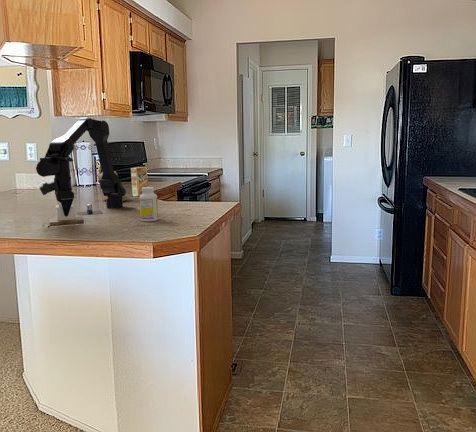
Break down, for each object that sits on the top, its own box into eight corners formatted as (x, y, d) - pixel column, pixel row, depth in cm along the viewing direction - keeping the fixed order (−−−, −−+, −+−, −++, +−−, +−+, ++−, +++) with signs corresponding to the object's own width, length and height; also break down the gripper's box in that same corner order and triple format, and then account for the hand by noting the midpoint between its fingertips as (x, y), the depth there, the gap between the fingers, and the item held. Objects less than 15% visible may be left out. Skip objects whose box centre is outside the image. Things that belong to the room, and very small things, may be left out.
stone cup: (97, 200, 246) (95, 171, 243) (119, 198, 252) (118, 170, 249) (105, 204, 233) (103, 173, 230) (129, 201, 239) (127, 171, 236)
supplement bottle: (150, 218, 190) (149, 186, 188) (161, 219, 186) (160, 187, 184) (137, 220, 185) (135, 187, 183) (148, 222, 181) (146, 188, 179)
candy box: (138, 196, 258) (136, 168, 256) (132, 196, 261) (130, 168, 258) (148, 194, 266) (147, 166, 263) (142, 194, 268) (141, 166, 265)
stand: (100, 212, 207) (100, 202, 206) (103, 216, 198) (103, 205, 197) (76, 214, 203) (75, 204, 202) (78, 218, 194) (77, 207, 193)
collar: (74, 216, 189) (73, 204, 188) (75, 219, 183) (74, 206, 182) (56, 218, 186) (55, 205, 185) (57, 220, 180) (56, 207, 180)
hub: (81, 218, 192) (80, 206, 192) (83, 223, 181) (82, 210, 181) (49, 221, 188) (48, 209, 187) (50, 226, 177) (48, 213, 176)
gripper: (39, 173, 187) (43, 213, 190) (39, 177, 170) (43, 220, 173) (69, 172, 191) (72, 210, 194) (72, 175, 174) (75, 217, 177)
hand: (65, 214), depth 184 cm, fingers closed on collar, 6 cm apart
